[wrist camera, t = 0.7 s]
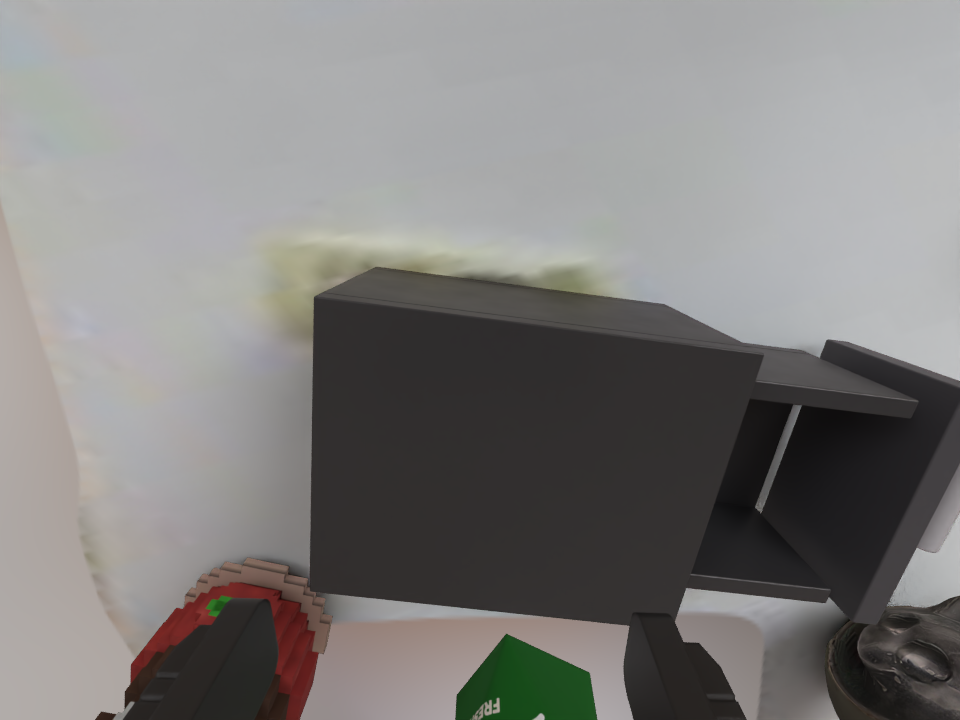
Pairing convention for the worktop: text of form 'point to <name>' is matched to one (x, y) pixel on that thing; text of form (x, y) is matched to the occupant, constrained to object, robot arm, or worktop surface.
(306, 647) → the cake
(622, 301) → the cabinet
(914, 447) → the drawer
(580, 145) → the worktop surface
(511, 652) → the milk carton
